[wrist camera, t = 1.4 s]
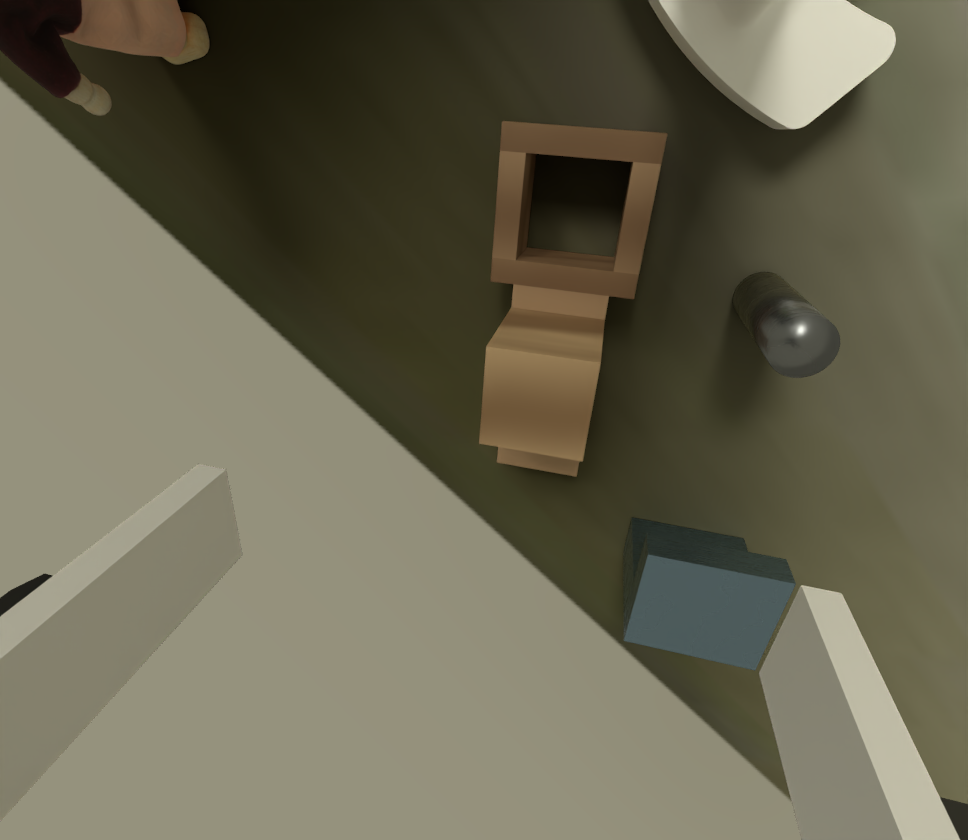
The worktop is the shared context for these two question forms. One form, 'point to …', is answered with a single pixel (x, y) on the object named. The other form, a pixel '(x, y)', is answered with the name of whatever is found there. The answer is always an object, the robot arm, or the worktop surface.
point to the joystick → (778, 51)
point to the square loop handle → (557, 298)
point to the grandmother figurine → (94, 39)
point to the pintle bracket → (715, 557)
